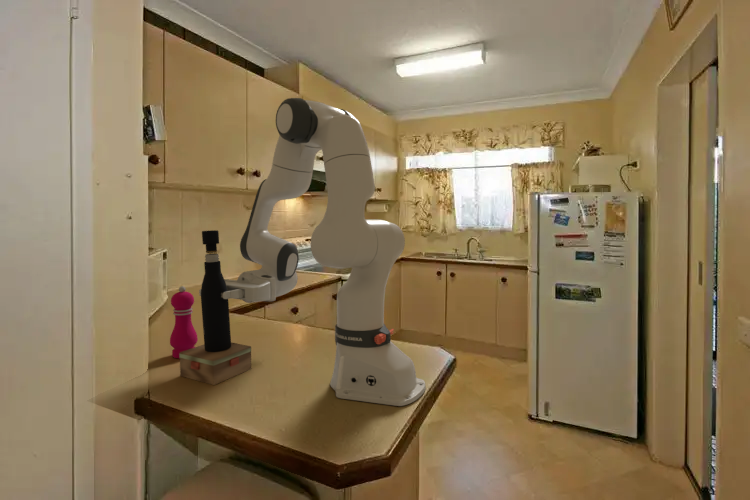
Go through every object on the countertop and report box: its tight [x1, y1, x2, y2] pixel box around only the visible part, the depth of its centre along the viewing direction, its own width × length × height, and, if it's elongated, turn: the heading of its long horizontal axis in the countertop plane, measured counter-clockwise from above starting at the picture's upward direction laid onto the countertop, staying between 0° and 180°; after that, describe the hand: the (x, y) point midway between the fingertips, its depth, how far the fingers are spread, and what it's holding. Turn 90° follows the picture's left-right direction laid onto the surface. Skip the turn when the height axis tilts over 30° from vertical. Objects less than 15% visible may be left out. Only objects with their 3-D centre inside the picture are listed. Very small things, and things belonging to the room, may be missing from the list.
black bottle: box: [200, 229, 232, 352], centre depth 103 cm, size 6×6×30 cm
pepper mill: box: [169, 285, 198, 360], centre depth 117 cm, size 7×7×20 cm
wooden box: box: [178, 341, 252, 386], centre depth 104 cm, size 13×13×6 cm
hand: (211, 294), depth 102 cm, fingers closed on black bottle, 6 cm apart
